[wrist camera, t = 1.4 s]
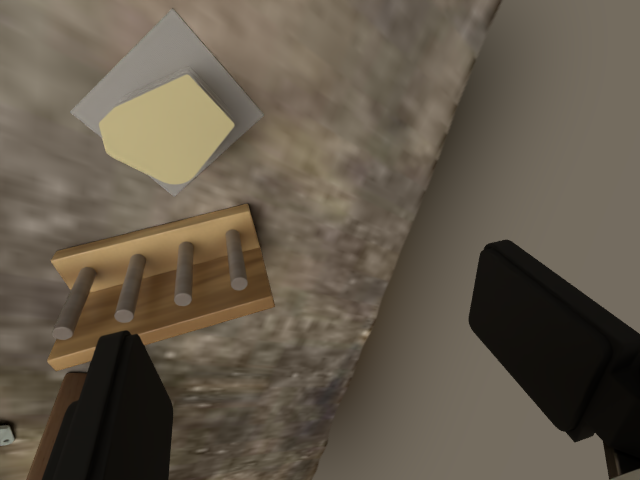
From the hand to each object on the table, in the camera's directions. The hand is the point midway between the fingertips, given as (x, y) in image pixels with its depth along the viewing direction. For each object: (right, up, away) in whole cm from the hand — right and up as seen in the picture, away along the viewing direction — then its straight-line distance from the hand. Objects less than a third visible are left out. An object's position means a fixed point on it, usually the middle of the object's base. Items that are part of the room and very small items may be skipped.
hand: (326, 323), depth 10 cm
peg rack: (-14, +1, +23) cm, 27 cm away
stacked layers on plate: (-11, +12, +17) cm, 24 cm away
